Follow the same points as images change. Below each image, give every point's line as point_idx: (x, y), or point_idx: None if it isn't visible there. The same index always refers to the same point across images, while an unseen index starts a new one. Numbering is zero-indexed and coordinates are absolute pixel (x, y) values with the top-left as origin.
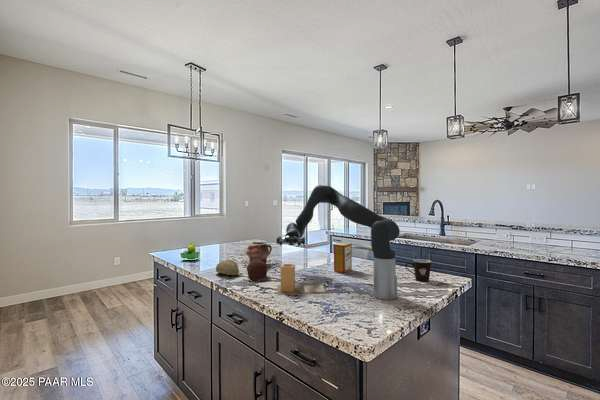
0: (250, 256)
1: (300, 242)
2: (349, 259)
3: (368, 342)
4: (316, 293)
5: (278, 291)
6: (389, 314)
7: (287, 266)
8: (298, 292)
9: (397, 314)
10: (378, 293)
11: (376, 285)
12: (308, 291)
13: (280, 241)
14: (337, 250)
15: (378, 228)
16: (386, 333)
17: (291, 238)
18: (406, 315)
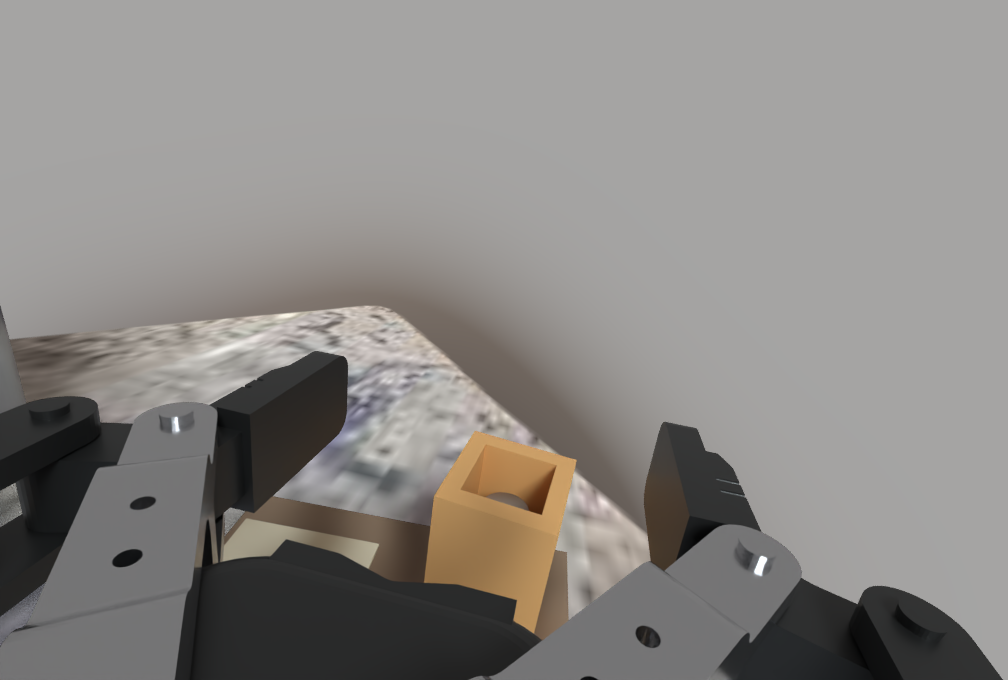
0: None
1: (286, 366)
2: None
3: (365, 310)
4: (319, 511)
5: (556, 605)
6: (182, 349)
7: (517, 454)
8: (422, 552)
9: (158, 343)
10: (24, 402)
11: (9, 373)
12: (354, 542)
13: (690, 429)
14: None
15: None
16: (299, 313)
17: (351, 614)
18: (141, 335)
